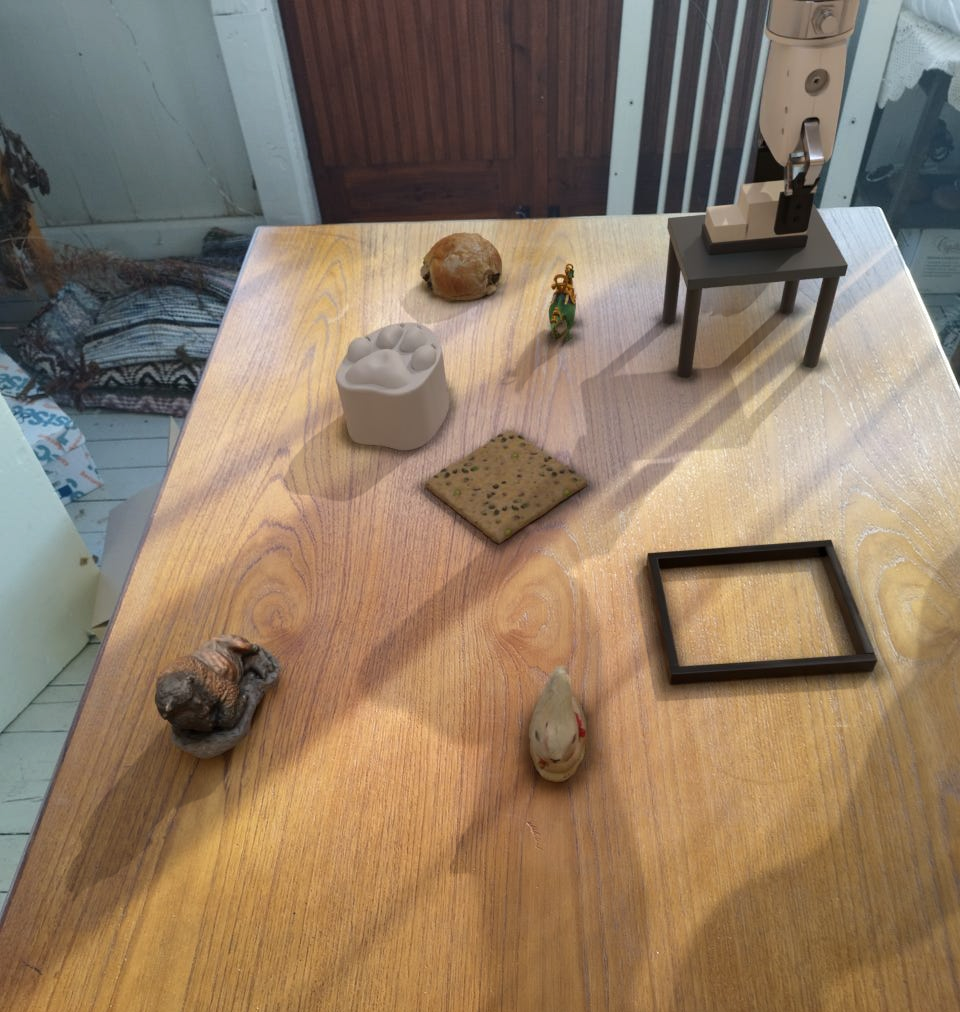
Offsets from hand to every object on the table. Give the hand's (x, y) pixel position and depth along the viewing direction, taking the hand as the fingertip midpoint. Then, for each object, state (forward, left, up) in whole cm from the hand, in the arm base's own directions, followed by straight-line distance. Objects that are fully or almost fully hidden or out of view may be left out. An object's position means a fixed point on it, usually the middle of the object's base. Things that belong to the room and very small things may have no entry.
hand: (778, 209), depth 89 cm
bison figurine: (+54, +48, -15) cm, 74 cm away
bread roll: (+34, -18, -15) cm, 41 cm away
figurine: (+22, -4, -15) cm, 27 cm away
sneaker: (+2, 0, -3) cm, 4 cm away
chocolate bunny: (+27, +53, -15) cm, 61 cm away
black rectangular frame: (+9, +41, -15) cm, 45 cm away
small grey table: (+2, 0, -15) cm, 15 cm away
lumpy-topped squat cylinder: (+41, +8, -15) cm, 44 cm away
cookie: (+30, +22, -15) cm, 40 cm away
